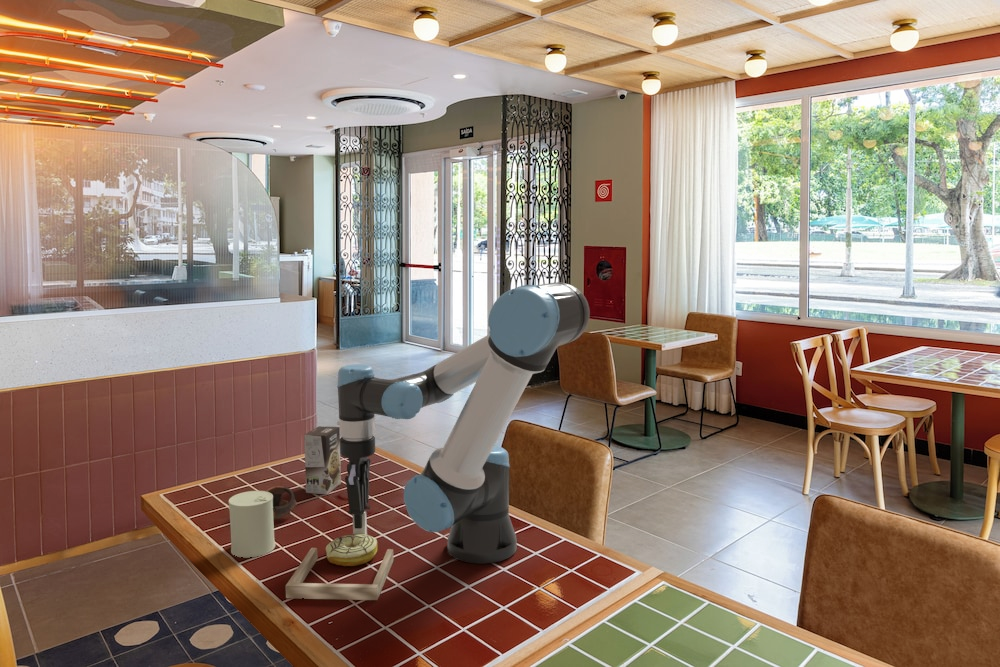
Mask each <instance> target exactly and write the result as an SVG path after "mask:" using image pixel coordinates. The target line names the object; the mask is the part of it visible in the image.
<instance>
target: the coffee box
mask: <svg viewBox="0 0 1000 667" xmlns="http://www.w3.org/2000/svg"><path fill="white" fill-rule="evenodd" d="M303 435H304V466H305V468H304V469H305V470H304V472H305V493H306V494H315V495H329V494H330V493H331V492H333V490H334V489H336V488H337V487H338V486H339V485H341V484H342V474H341V473H342V472H341V471H342V470H341V469H342V468H341V466H342V465H341V454H340V439H341V436H340V426H319V425H318V426H317V427H315V428H313V429H311V430H310V431H308V432H307V433H305V434H303Z"/></svg>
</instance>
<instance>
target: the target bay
mask: <svg viewBox="0 0 1000 667" xmlns="http://www.w3.org/2000/svg"><path fill="white" fill-rule="evenodd" d="M317 560H318V548H317V547H311V548H310V549H309V550H308V552H307V554H306V555H305V556H304V558H303V560H302V561H301V563H300V564H299V566H298V567H297V568H296V570H295V571H294V573H292V576H291V577H290V579H288V581H287V583H286V584H285V586H284V588H285V598H286V599H300V600H301V599H302V598H304V599H305V600H307V599H308V600H347V601H348V600H350V601H353V600H354V601H357V600H358V601H378V599H379V598H380V594H381V592H382V590H383V587H384V585H385V582H386V580H387V578H388V576H389V573H390V570H391V568H392V565H393V562H394V560H395V559H394V549H392V548H388V549H386V552H385V554H384V557H383V558H382V562H381V563H380V566H379V568H378V570H377V572H376V575H375V577H374V579H373V582H372V583H371V584H370V583H369V584H367V583H322V582H321V583H318V582H317V583H316V582H314V583H313V582H304V581H305V579H306V578H307V576H308V574H309V573H310V572H311V570H312V569H313V567H314V565H315V564H316V563H317ZM304 599H303V600H304Z"/></svg>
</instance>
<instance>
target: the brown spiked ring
mask: <svg viewBox="0 0 1000 667" xmlns="http://www.w3.org/2000/svg"><path fill="white" fill-rule="evenodd" d="M265 491H266V492H269V493H271V494H272V495H273V522H274V521H275V520H279V519H281V518H284V517H286V516H287V515H290V514H291V512H292V511H294V509H295V507H296V506H297V505H298V503H297V501H296V499H295V497H296V496H295V493H294V491H293V490H292V489H290V488H289V487H287V486H283V485H275V486H270V487H269V488H268V489H266V490H265ZM285 493H287V494H288V495H289V496H290V500H289V501H288V500H285V499H283V498H282V496H283V494H285Z"/></svg>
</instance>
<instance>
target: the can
mask: <svg viewBox="0 0 1000 667" xmlns="http://www.w3.org/2000/svg"><path fill="white" fill-rule="evenodd" d="M273 510H274V507H273V495H272V494H271V493H269V492H266V490H249V491H244V492H239V493H237V494H234V495H232V496H231V497H230V498H229V499H228V511H229V523H230V553H231V555H232V556H234V555H235V556H234V557H236V556H237V557H236V558H241V557H243V558H244V559H249V558H250V557H252V558H258V557H261V555H262V556H264V554H265V555H267V554H269V553H271V552H272V551H273V550H274V549H275V548H276V542H275V526H274V521H273ZM257 556H258V557H257ZM243 558H242V559H243Z"/></svg>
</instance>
